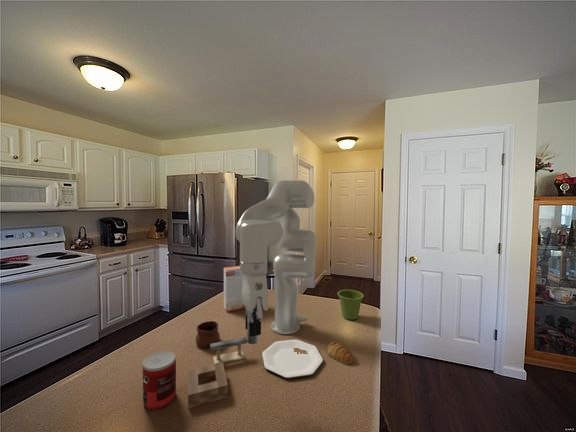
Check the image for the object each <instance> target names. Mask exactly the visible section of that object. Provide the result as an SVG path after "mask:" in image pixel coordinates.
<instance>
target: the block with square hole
mask: <svg viewBox="0 0 576 432" xmlns="http://www.w3.org/2000/svg"><path fill="white" fill-rule="evenodd" d="M228 384H229V383H228V380H227V375H226V371H225V367H224V363H220V364H215V365H214V364H212V365H206V366H202V367H198V368H193V369H189V370H187V409H191V408H194V407H198V406H202V405H205V404H209V403H212V402H216V401H219V400H222V399H227V398H228V397H229V392H228V391H229V387H228V386H229V385H228Z"/></svg>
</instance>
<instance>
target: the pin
mask: <svg viewBox="0 0 576 432" xmlns="http://www.w3.org/2000/svg"><path fill="white" fill-rule="evenodd" d="M253 310H256V308H255V309H253ZM254 315H256V313H253V317H254ZM249 322H250V311H249V310H248V311H247V330H246V338H247V344H249V345H255V344H258V343H259V341H260V337H259V336H260V335H257V336H253V337H250V336H249Z"/></svg>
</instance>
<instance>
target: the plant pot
mask: <svg viewBox="0 0 576 432" xmlns="http://www.w3.org/2000/svg"><path fill="white" fill-rule="evenodd" d="M337 295H338V297H339V301H340V302H339V303H340V304H339V305H340V308H341V309H340V310H341V315H342V318H343V317H344V318H346V319H351V320H350V321H354V320H353V319H357V318H358V319H359V315H360V309H361V303H362V301H363V298H364V297H365V296H364V294H363V293H362V292H360V291H358V290H354V289H342V290H339V291H338V292H337ZM344 318H343V319H344ZM346 319H345V320H346ZM358 319H357V320H358Z"/></svg>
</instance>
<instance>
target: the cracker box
mask: <svg viewBox="0 0 576 432" xmlns="http://www.w3.org/2000/svg"><path fill="white" fill-rule="evenodd" d="M242 283H243V274H240V265H237V266H228V267H227V266H226V267H223V308H224V310H225V312H226V313H228V312H233V311H237V310H238V311H239V310H243V309H245V310H246V306H245V304H244V302H243V298H242Z"/></svg>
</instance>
